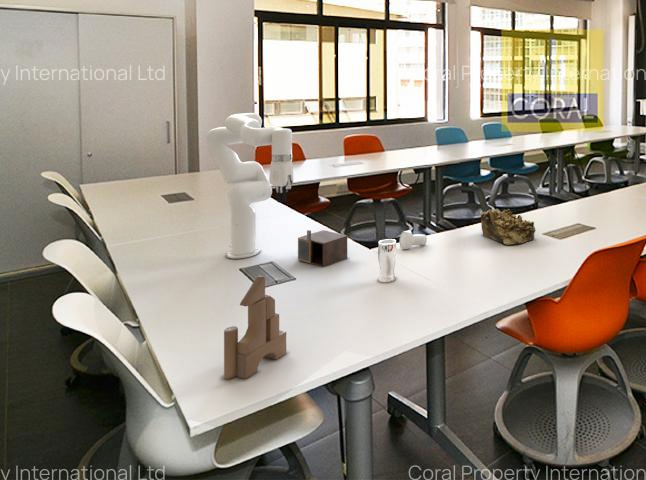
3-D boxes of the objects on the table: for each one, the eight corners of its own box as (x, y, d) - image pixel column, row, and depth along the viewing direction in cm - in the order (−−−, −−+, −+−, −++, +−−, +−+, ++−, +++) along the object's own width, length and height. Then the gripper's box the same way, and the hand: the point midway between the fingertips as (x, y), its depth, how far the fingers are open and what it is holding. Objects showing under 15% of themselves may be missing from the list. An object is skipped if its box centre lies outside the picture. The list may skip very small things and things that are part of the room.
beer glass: (400, 277, 211) (400, 240, 211) (389, 284, 205) (389, 245, 204) (385, 275, 213) (385, 238, 213) (374, 281, 207) (374, 243, 207)
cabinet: (323, 267, 222) (323, 243, 222) (299, 260, 230) (299, 237, 230) (347, 258, 232) (347, 235, 232) (323, 252, 240) (323, 230, 240)
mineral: (544, 235, 267) (544, 205, 267) (514, 248, 246) (515, 216, 246) (501, 226, 282) (501, 198, 282) (470, 238, 261) (470, 208, 261)
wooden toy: (268, 349, 156) (268, 265, 156) (286, 353, 154) (286, 267, 154) (221, 378, 141) (221, 284, 141) (240, 382, 139) (240, 288, 139)
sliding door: (309, 263, 225) (309, 231, 224) (297, 259, 229) (297, 228, 228) (311, 262, 225) (311, 230, 225) (299, 259, 229) (299, 227, 229)
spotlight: (396, 244, 247) (401, 228, 247) (418, 244, 254) (423, 228, 254) (403, 252, 241) (408, 235, 241) (425, 252, 248) (430, 235, 248)
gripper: (262, 157, 223) (262, 201, 223) (284, 161, 215) (284, 206, 215) (279, 155, 229) (279, 197, 229) (301, 158, 222) (301, 202, 222)
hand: (282, 201), depth 222 cm, fingers closed
